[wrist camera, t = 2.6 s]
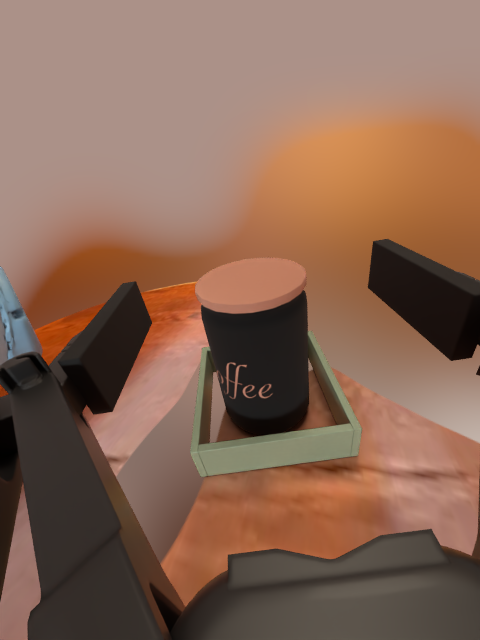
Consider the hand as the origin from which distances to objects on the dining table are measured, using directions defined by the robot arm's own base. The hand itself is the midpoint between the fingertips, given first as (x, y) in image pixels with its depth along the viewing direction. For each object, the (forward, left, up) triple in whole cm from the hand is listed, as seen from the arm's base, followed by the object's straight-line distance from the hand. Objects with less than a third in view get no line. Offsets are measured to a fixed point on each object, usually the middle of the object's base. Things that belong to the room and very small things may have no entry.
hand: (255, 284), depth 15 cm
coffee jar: (0, +10, -22) cm, 24 cm away
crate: (0, +10, -22) cm, 24 cm away
